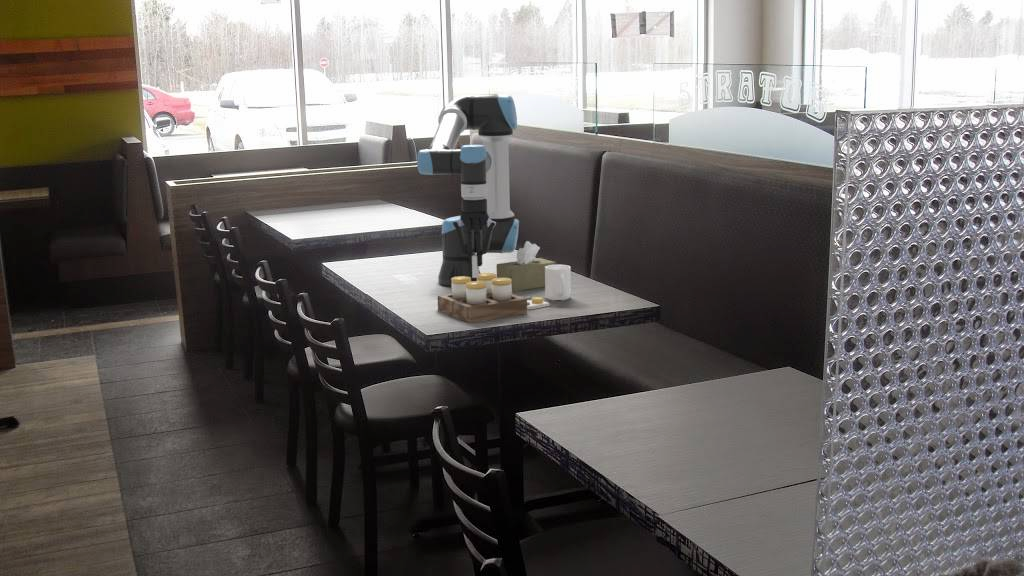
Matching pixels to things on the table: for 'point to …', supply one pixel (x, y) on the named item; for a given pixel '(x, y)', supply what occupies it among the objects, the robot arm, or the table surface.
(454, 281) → the button
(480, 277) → the button
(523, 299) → the board
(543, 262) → the tissue box
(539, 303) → the card
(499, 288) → the button
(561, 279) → the mug
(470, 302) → the button
